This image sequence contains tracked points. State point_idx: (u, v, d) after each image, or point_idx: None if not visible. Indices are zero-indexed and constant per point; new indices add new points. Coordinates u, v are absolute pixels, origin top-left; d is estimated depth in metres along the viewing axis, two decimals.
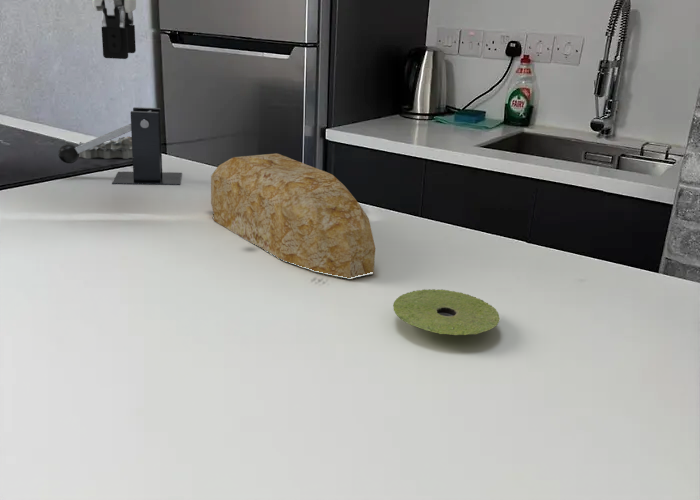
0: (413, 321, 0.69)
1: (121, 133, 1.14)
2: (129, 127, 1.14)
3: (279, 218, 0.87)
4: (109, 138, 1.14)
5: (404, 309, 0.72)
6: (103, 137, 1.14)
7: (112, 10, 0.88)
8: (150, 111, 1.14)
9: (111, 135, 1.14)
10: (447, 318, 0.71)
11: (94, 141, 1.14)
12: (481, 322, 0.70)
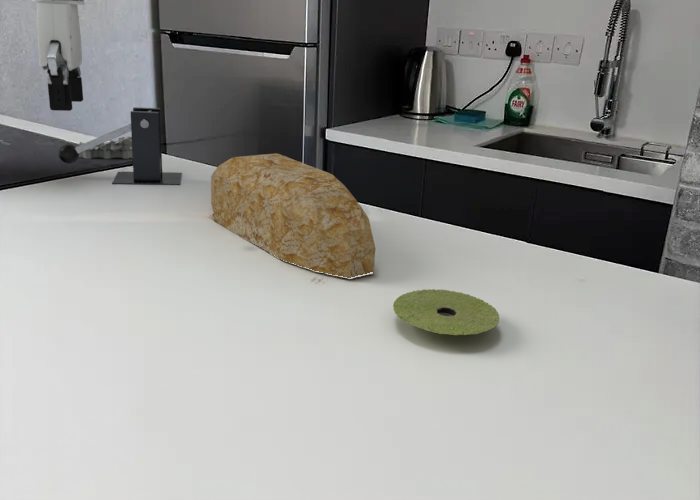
0: (413, 321, 0.69)
1: (121, 133, 1.14)
2: (129, 127, 1.14)
3: (279, 217, 0.87)
4: (109, 138, 1.14)
5: (404, 309, 0.72)
6: (103, 137, 1.14)
7: (55, 71, 1.02)
8: (150, 111, 1.14)
9: (111, 135, 1.14)
10: (447, 318, 0.71)
11: (94, 141, 1.14)
12: (481, 322, 0.70)
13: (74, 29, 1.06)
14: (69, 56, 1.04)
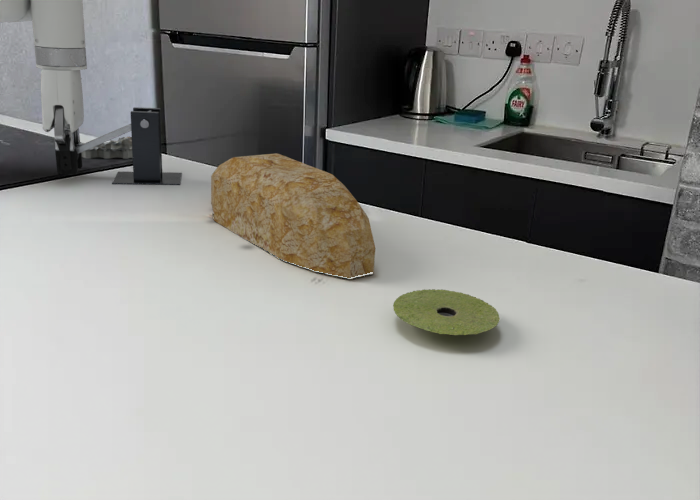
0: (413, 321, 0.69)
1: (121, 133, 1.14)
2: (129, 127, 1.14)
3: (279, 217, 0.87)
4: (109, 138, 1.14)
5: (404, 309, 0.72)
6: (103, 137, 1.14)
7: None
8: (150, 111, 1.14)
9: (111, 135, 1.14)
10: (447, 318, 0.71)
11: (94, 141, 1.14)
12: (481, 322, 0.70)
13: (77, 93, 1.09)
14: (72, 120, 1.08)
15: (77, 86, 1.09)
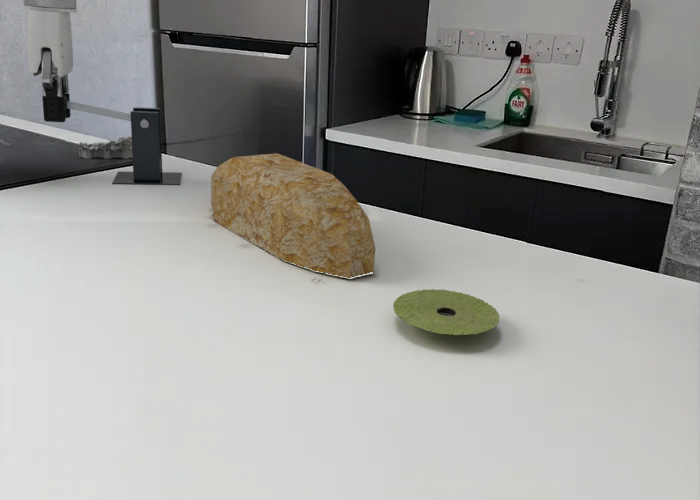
0: (413, 321, 0.69)
1: (117, 117, 1.13)
2: (128, 116, 1.13)
3: (279, 217, 0.87)
4: (103, 114, 1.12)
5: (404, 309, 0.72)
6: (99, 110, 1.12)
7: None
8: None
9: (107, 113, 1.12)
10: (447, 318, 0.71)
11: (88, 108, 1.12)
12: (481, 322, 0.70)
13: (65, 36, 1.06)
14: (60, 63, 1.05)
15: (66, 29, 1.06)
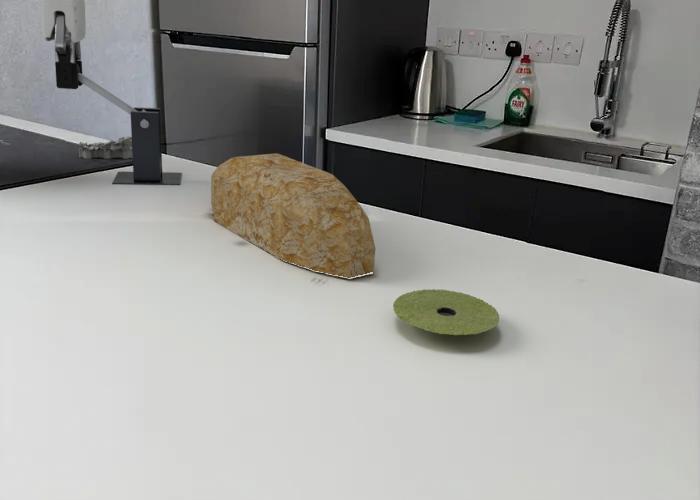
0: (413, 321, 0.69)
1: (120, 106, 1.12)
2: (130, 110, 1.13)
3: (279, 217, 0.87)
4: (108, 98, 1.12)
5: (404, 309, 0.72)
6: (106, 93, 1.11)
7: None
8: None
9: (112, 99, 1.12)
10: (447, 318, 0.71)
11: (97, 87, 1.11)
12: (481, 322, 0.70)
13: (79, 1, 1.05)
14: (73, 28, 1.03)
15: None
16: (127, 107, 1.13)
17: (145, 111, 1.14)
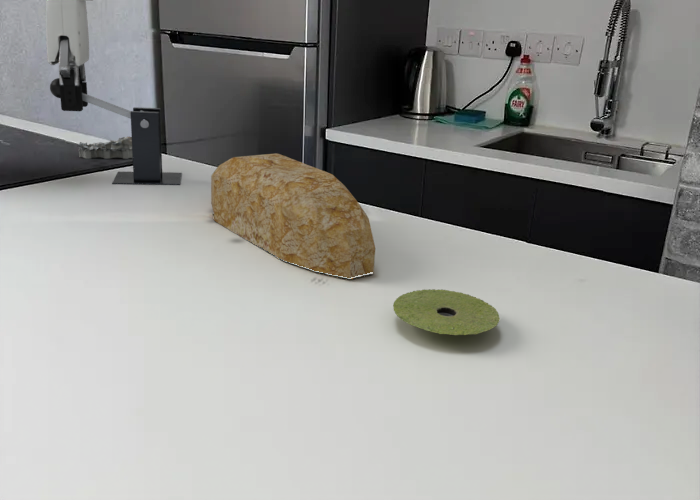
0: (413, 321, 0.69)
1: (118, 112, 1.13)
2: (128, 114, 1.13)
3: (279, 217, 0.87)
4: (105, 107, 1.12)
5: (404, 309, 0.72)
6: (101, 102, 1.12)
7: None
8: None
9: (109, 106, 1.12)
10: (447, 318, 0.71)
11: (91, 98, 1.11)
12: (481, 322, 0.70)
13: (82, 25, 1.06)
14: (77, 52, 1.04)
15: (83, 18, 1.06)
16: (124, 111, 1.13)
17: (143, 111, 1.14)
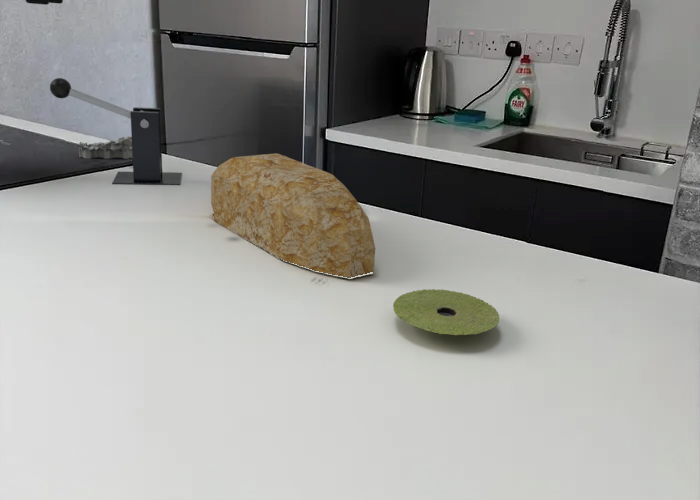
0: (413, 321, 0.69)
1: (118, 112, 1.13)
2: (128, 114, 1.13)
3: (279, 217, 0.87)
4: (105, 107, 1.12)
5: (404, 309, 0.72)
6: (101, 102, 1.12)
7: None
8: None
9: (109, 106, 1.12)
10: (447, 318, 0.71)
11: (91, 98, 1.11)
12: (481, 322, 0.70)
13: None
14: None
15: None
16: (124, 111, 1.13)
17: (143, 111, 1.14)
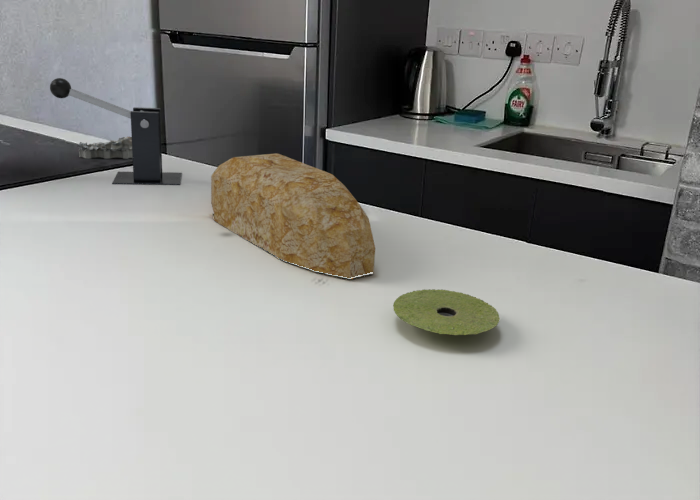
0: (413, 321, 0.69)
1: (118, 112, 1.13)
2: (128, 114, 1.13)
3: (279, 217, 0.87)
4: (105, 107, 1.12)
5: (404, 309, 0.72)
6: (101, 102, 1.12)
7: None
8: None
9: (109, 106, 1.12)
10: (447, 318, 0.71)
11: (91, 98, 1.11)
12: (481, 322, 0.70)
13: None
14: None
15: None
16: (124, 111, 1.13)
17: (143, 111, 1.14)
